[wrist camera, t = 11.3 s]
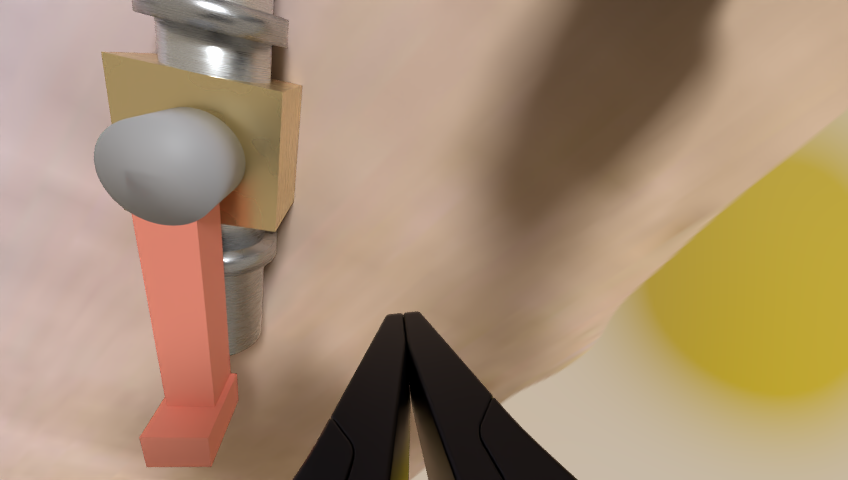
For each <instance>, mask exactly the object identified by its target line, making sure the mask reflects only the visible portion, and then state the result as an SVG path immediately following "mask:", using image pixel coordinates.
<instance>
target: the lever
mask: <svg viewBox="0 0 848 480" xmlns="http://www.w3.org/2000/svg"><path fill="white" fill-rule="evenodd" d="M94 163H95V168H96V172H97V175H98V177H99V179H100V182H101V183H102V185H103V187H104V188H105V190H106V191H107V192H108V194H109V195H110V196H111V197H112V198H113V199H114V200H115V201H116V202H117V203H118V204H119V205H120V206H122V207H123V208H124V209H126V210H127V211H128V212H130V213H132V218H133V224H134V229H135V235H136V240H137V246H138V251H139V257H140V262H141V268H142V273H143V279H144V284H145V290H146V295H147V300H148V306H149V311H150V317H151V322H152V328H153V333H154V339H155V344H156V350H157V355H158V361H159V366H160V372H161V377H162V383H163V388H164V394H165V398H164V399H163V401H162V403H161V404H160V406H159V407H158V409H157V410H156V412H155V414H154V415H153V417H152V418H151V420H150V422H149V423H148V425H147V426H146V428H145V429H144V431H143V433H142V434H141V436H140V437H139V438H140V442H141V446H142V450H143V454H144V458H145V462H146V466H147V467H211V466H212V464H213V461H214V459H215V457H216V454H217V452H218V449H219V447H220V444H221V442H222V439H223V437H224V434H225V432H226V430H227V427H228V425H229V422H230V420H231V417H232V415H233V412H234V410H235V407H236V405H237V403H238V384H237V374H235V373H231V371H230V356H229V341H228V325H227V310H226V295H225V279H224V264H223V249H222V233H221V218H220V202H221V201H222V200H223V199H224V198H225V197H226V196H228V195H229V194H230V193H231V192H232V191H233V190H234V189H235V188H236V187H237V186H238V185H239V184H240V182H241V180H242V178H243V176H244V172H245V164H246V162H245V155H244V151H243V148H242V146H241V143H240V142H239V140H238V138H237V137H236V135H235V134H234V132H233V131H232V130H231V129H230V128H229V127H228V126H227V125H226V124H225V123H224V122H223V121H221V120H220V119H219V118H217V117H215V116H214V115H212V114H210V113H208V112H206V111H203V110H200V109H196V108H191V107H176V108H170V109H166V110H161V111H157V112H153V113H148V114H144V115H140V116H135V117H131V118H127V119H123V120H120V121H117V122H115V123H113V124H112V125H110V126H109V127H108V128H106V129H105V130H104V131H103V132H102V134H101V135H100V137H99V138H98V140H97V143H96V145H95V151H94Z"/></svg>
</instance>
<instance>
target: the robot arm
mask: <svg viewBox="0 0 848 480" xmlns="http://www.w3.org/2000/svg"><path fill="white" fill-rule="evenodd" d="M409 385H410V386H409ZM410 395H411V401H410ZM411 402H412V407H413V412H414V417H415V421H416V426H417V430H418V435H419V439H420V444H421V448H422V453H423V457H424V462H425V466H426V471H427V475H428V480H577V479H576V478H575V477H574V476H573V475H572V474H571V473H570V472H568V471H567V470H566V469H565V468H564V467H563V466H562V465H561V464H560V463H559V462H558V461H557V460H555V459H554V458H553V457H552V456H551V455H550V454H549V453H548V452H547V451H546V450H544V449H543V448H542V447H541V446H540V445H539V444H538V443H537V442H536V441H535V440H534V439H533V438H532V437H531V436H530V435H529V434H528V433H527V432H526V431H525V430H523V429H522V427H521V426H520V425H519V424H518V423H517V422H516V421H515V420H514V419H513V418H512V417H511V416H510V414H508V412H507V411H506V410H505V409H504V408H503V407H502V406H501V404H500V403H499V402H498V401H497V400H496V399H495V398H493V396H492V394H491V393H490V392H489V391H488V390H487V389H486V387H485V386H484V385H483V384H482V383H481V382H480V381H479V379H478V378H477V377H476V376H475V375H474V374H473V373H472V371H471V370H470V369H469V368H468V367H467V366H466V364H465V363H464V362H463V361H462V360H461V359H460V358H459V356H458V355H457V354H456V353H455V352H454V351H453V350H452V348H451V347H450V346H449V345H448V344H447V343H446V342H445V340H444V339H443V338H442V337H441V336H440V335H439V334H438V332H437V331H436V330H435V329H434V328H433V327H432V326H431V324H430V323H429V322H428V321H427V320H426V319H425V318H424V316H423V315H422V314H421V313H420V312H407V313H404V315H403V314H401V313H397V314H389V315H387V316H386V317H385V319H384V321H383V323H382V324H381V326H380V328H379V330H378V332H377V334H376V335H375V337H374V339H373V341H372V343H371V344H370V346H369V348H368V350H367V352H366V354H365V355H364V357H363V359H362V361H361V363H360V365H359V366H358V368H357V370H356V372H355V374H354V375H353V377H352V379H351V381H350V383H349V385H348V386H347V388H346V390H345V392H344V394H343V395H342V397H341V399H340V401H339V403H338V405H337V406H336V408H335V410H334V412H333V414H332V415H331V419H329V421H328V422H327V424H326V426H325V428H324V430H323V432H322V433H321V435H320V437H319V439H318V440H317V442H316V444H315V445H314V447H313V449H312V450H311V452H310V454H309V456H308V457H307V459H306V460H305V462H304V463H303V465H302V466H301V468H300V469H299V471H298V472H297V474H296V475H295V477H294V478H293V480H409V448H410V413H411Z"/></svg>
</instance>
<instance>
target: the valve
mask: <svg viewBox="0 0 848 480" xmlns="http://www.w3.org/2000/svg"><path fill="white" fill-rule="evenodd" d="M273 7H274V0H132V8H133V11H135V12H139V13H142V14H146V15H150V16H153V17H154V19H155V31H156V42H157V54H153V53H123V52H101V53H102V60H103V67H104V74H105V81H106V88H107V94H108V101H109V108H110V115H111V122H112V124H113V123H115V122H117V121H120V120H123V119H127V118H131V117H135V116H140V115H144V114H148V113H153V112H157V111H161V110H166V109H170V108H176V107H191V108H196V109H200V110H203V111H206V112H208V113H210V114H212V115H214V116H215V117H217V118H219V119H220V120H221V121H223V122H224V123H225V124H226V125H227V126H228V127H229V128H230V129H231V130H232V131H233V132H234V134H235V135H236V137H237V138H238V140H239V142H240V143H241V146H242V148H243V151H244V155H245V162H246V164H245V172H244V176H243V178H242V180H241V182H240V184H239V185H238V186H237V187H236V188H235V189H234V190H233V191H232V192H231V193H230V194H229V195H228V196H226V197H225V198H224V199H223V200H222V201H221V202H220V218H221V233H222V249H223V264H224V279H225V295H226V310H227V325H228V341H229V355H233V354H236V353H239V352H241V351H243V350H245V349H247V348H248V347H250V346H251V345H252V344H253V343H254V342H255V341H256V340H257V339H258V338H259V336H260V333H261V323H262V297H263V270H264V266H266V265H267V264H268V263H270V262H271V261H272V260H273V258H274V257H275V255H276V246H277V231H276V230H277V228H278V227H279V225H280V223H281V221H282V220H283V218H284V216H285V215H286V213H287V211H288V210H289V208H290V206H291V205H292V203H293V201H294V191H295V177H296V164H297V150H298V136H299V123H300V109H301V95H302V85H297V84H293V83H288V82H284V81H280V80H275V79H271V60H272V45H275V46H280V47H285V48H287V44H288V26H289V21H288V20H286V19H284V18H281V17H278V16H275V15H273ZM124 210H126V209H124Z"/></svg>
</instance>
